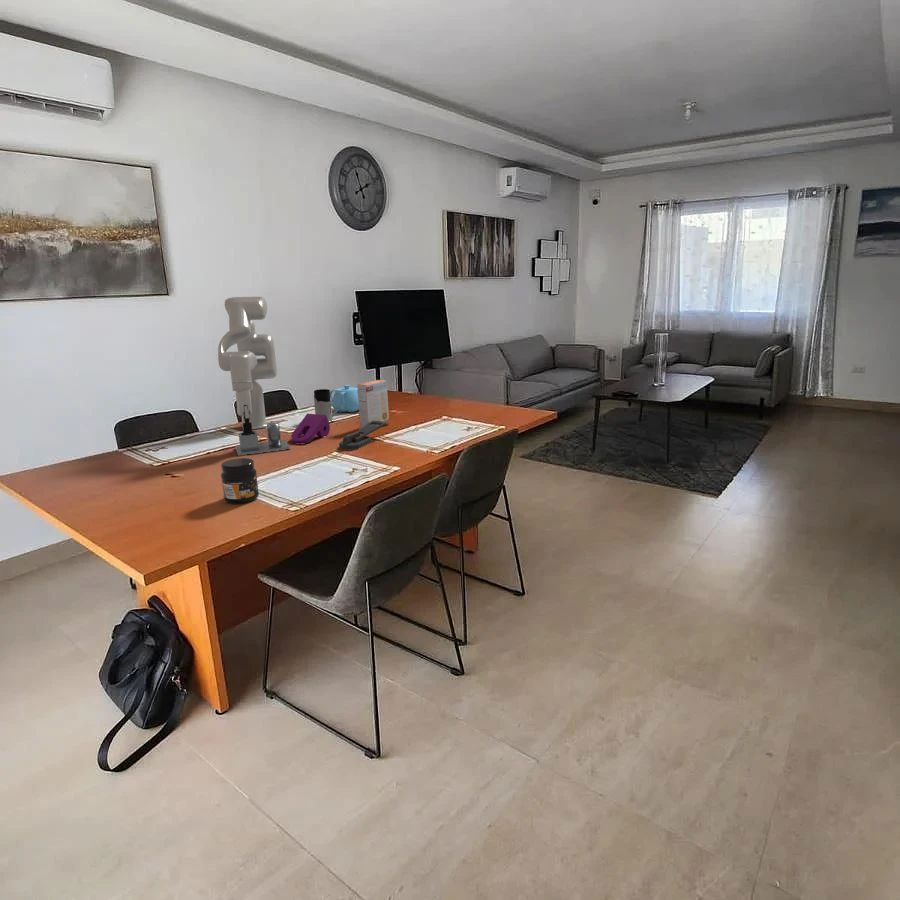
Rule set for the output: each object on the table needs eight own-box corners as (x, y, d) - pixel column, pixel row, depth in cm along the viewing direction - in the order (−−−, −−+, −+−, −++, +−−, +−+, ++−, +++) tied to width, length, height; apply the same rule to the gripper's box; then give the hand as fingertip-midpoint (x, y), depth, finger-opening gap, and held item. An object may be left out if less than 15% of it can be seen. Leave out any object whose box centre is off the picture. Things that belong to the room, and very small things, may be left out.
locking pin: (243, 436, 239) (240, 411, 237) (251, 435, 241) (249, 410, 238) (244, 437, 237) (241, 413, 234) (252, 436, 238) (249, 412, 235)
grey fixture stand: (235, 448, 244) (232, 424, 241) (285, 442, 251) (283, 419, 248) (238, 456, 233) (235, 431, 230) (290, 449, 241) (287, 425, 238)
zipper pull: (388, 421, 256) (352, 435, 235) (389, 436, 258) (353, 451, 237) (371, 420, 261) (334, 432, 240) (372, 434, 262) (335, 448, 241)
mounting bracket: (312, 456, 252) (331, 429, 264) (306, 441, 246) (325, 414, 259) (293, 455, 255) (313, 428, 267) (287, 440, 249) (307, 413, 262)
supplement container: (225, 507, 180) (220, 469, 177) (223, 496, 189) (218, 460, 186) (261, 501, 184) (257, 464, 181) (257, 491, 193) (253, 455, 190)
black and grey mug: (316, 419, 293) (313, 389, 289) (345, 418, 294) (343, 388, 290) (314, 423, 284) (311, 392, 280) (344, 422, 286) (342, 391, 282)
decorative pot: (338, 415, 301) (336, 389, 297) (328, 409, 315) (326, 384, 311) (368, 411, 308) (367, 385, 305) (357, 406, 322) (356, 381, 318)
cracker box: (380, 423, 283) (377, 379, 277) (389, 424, 280) (387, 380, 274) (359, 429, 272) (356, 383, 267) (369, 430, 269) (366, 384, 263)
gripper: (230, 383, 239) (236, 428, 244) (234, 390, 224) (239, 437, 229) (250, 382, 242) (255, 426, 247) (254, 388, 227) (259, 435, 232)
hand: (247, 431), depth 238 cm, fingers closed on locking pin, 3 cm apart
